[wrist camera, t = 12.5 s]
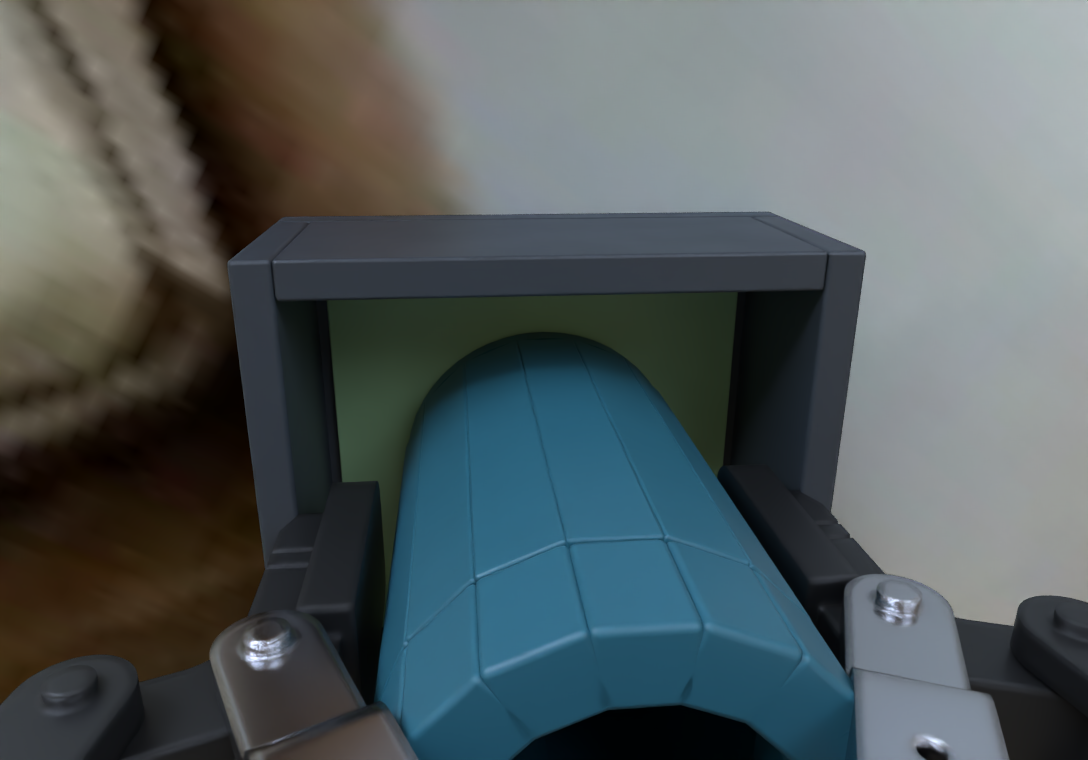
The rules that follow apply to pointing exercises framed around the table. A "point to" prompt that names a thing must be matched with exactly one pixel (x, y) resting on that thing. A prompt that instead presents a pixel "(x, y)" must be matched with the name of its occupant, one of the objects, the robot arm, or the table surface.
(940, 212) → the table surface
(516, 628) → the jar
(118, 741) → the robot arm
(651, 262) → the divided tray
